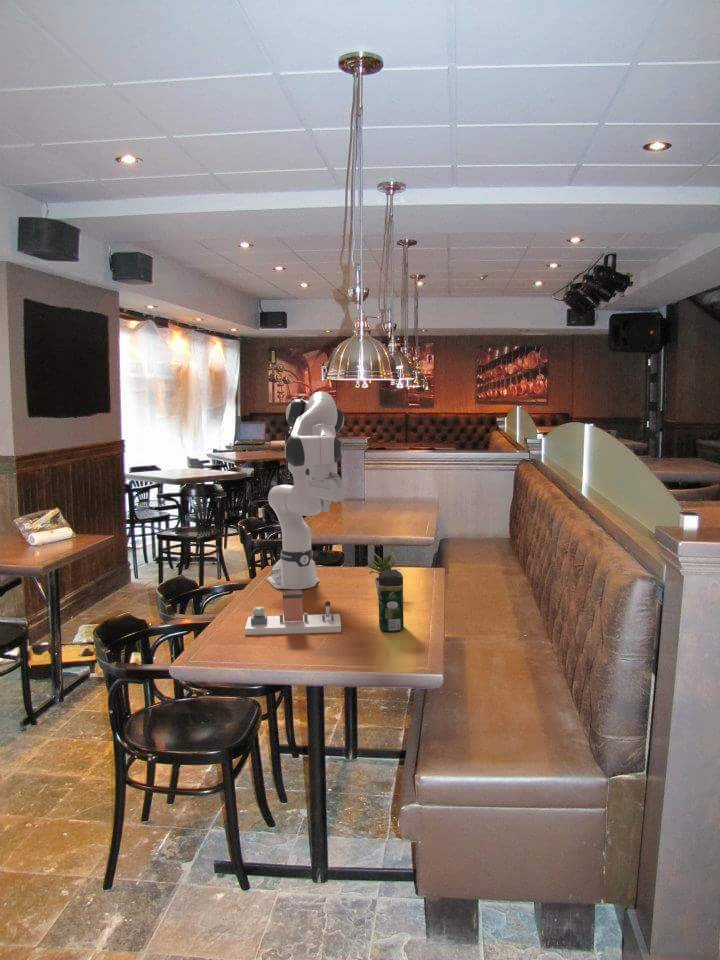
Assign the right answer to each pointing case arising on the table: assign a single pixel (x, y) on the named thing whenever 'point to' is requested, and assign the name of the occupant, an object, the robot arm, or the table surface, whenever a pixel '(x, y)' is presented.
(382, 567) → the house plant
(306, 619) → the control panel
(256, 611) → the push button
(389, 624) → the coffee jar
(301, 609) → the paddle
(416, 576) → the table surface
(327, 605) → the toggle lever
